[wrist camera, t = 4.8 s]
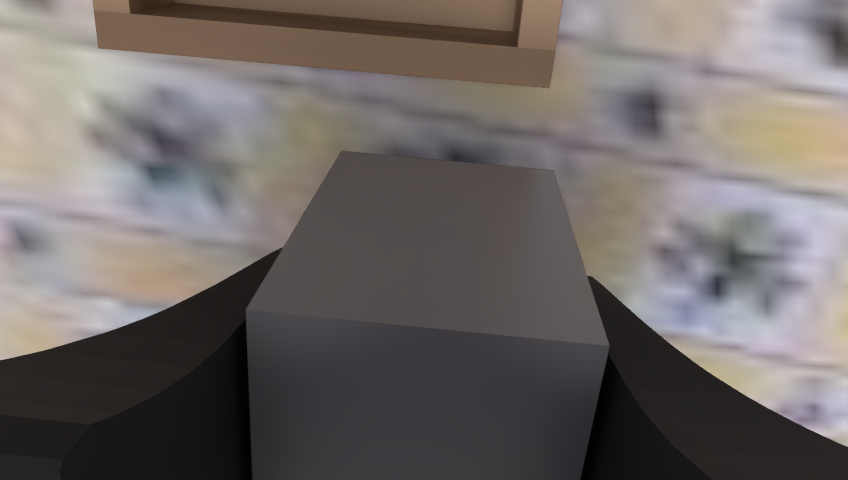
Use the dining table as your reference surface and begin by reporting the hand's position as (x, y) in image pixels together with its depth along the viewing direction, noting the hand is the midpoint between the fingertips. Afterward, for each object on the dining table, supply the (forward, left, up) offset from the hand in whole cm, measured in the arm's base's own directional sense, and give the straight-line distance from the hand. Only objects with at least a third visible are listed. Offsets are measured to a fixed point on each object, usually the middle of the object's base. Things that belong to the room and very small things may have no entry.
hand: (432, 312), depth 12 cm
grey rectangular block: (0, 0, -2) cm, 2 cm away
